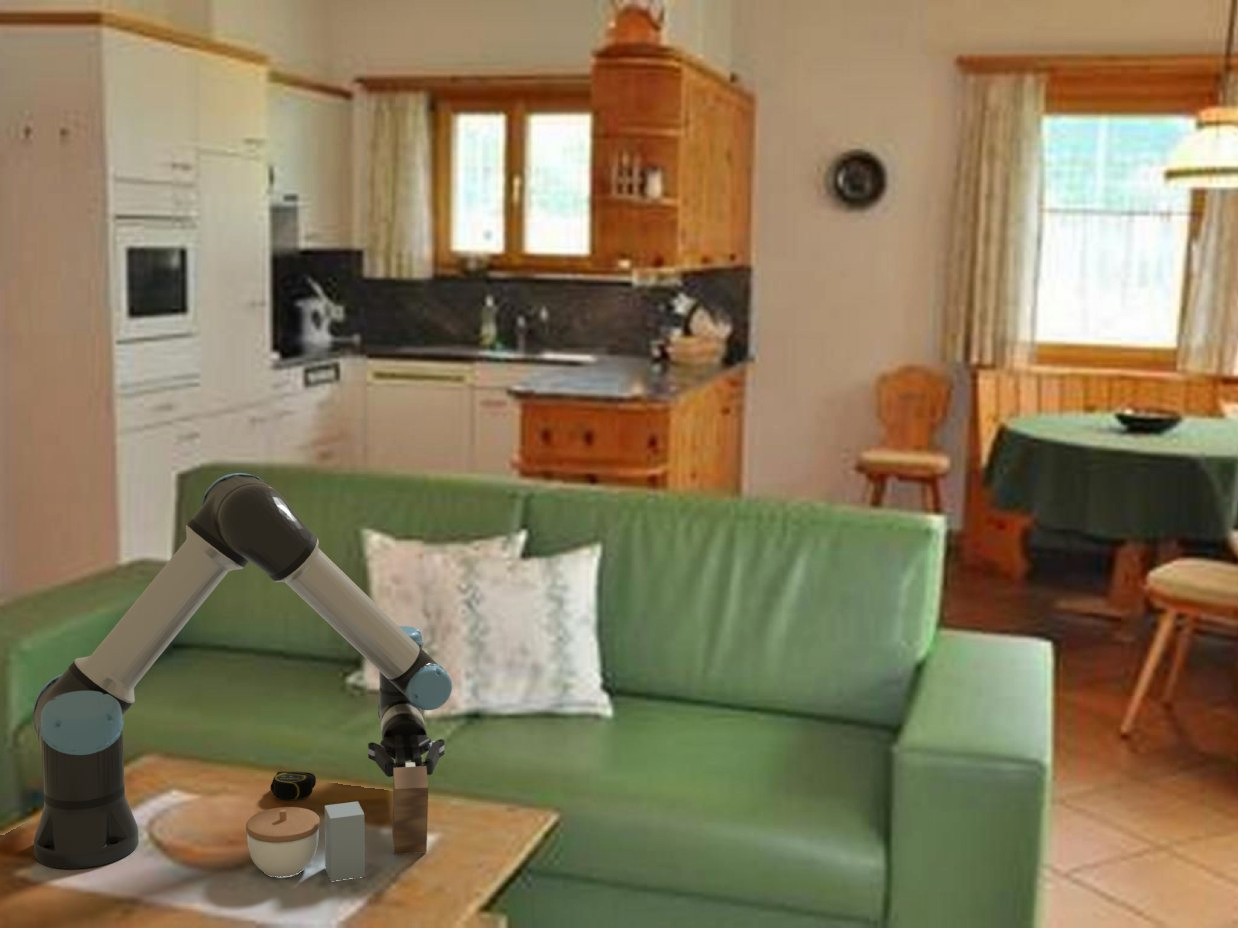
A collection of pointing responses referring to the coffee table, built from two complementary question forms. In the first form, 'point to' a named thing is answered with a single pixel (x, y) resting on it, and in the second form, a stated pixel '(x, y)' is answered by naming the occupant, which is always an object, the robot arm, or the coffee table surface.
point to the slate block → (344, 841)
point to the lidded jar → (283, 839)
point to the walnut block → (410, 809)
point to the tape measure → (293, 785)
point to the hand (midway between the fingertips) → (412, 785)
